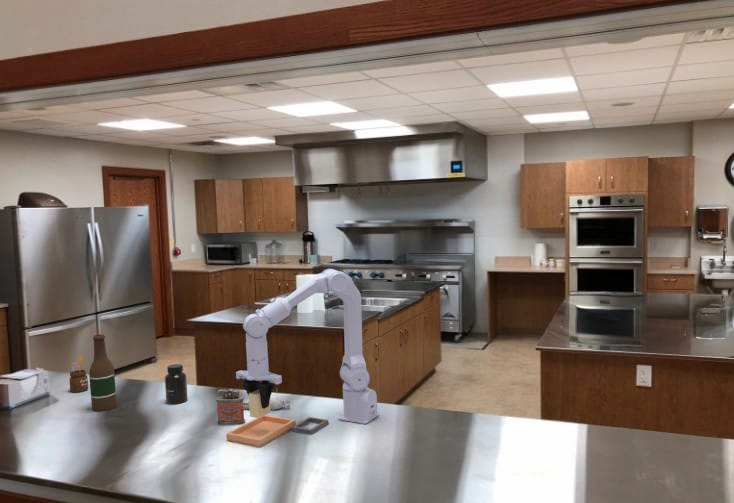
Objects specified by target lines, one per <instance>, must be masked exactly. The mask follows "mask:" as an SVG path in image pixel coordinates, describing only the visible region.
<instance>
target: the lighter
mask: <svg viewBox="0 0 734 503" xmlns="http://www.w3.org/2000/svg"><path fill="white" fill-rule="evenodd" d="M217 393H218V394H217V395H218V397H216V399H215V402H216V406H217V407H216V408H217V425H220V426H235V425H236V426H238V425H240V426H241V425H244V424H246V418H245V412H244V410H245V409H243V403H244V396H239V394H240V391H239V389H235V390H234V389H233V388H229V389H228V390H227V389H219V390H217Z"/></svg>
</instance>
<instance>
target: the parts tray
mask: <svg viewBox="0 0 734 503" xmlns="http://www.w3.org/2000/svg"><path fill="white" fill-rule="evenodd" d="M296 424H297V423H296V420H295V419H291V418H285V417H280V416H279V417H278V416H275V415H274V416H273V415H268V414H266V415H264V416H262V417H260V418H254V419H252V420H249V421H248V422H245V423H244V424H241V425H240V426H239V427H236V428H235V429H233V430H230V431H229V432H226V434H225V436H226V442H231V443H236V444H240V445H245V446H251V447H255V448H262V447H264V446H266V445H268V444H270V443H271V442H273V441H274V440H276V439H278V438H279V437H281V436H283V435H284V434H286V433H289V432H290V431H292V427H293V426H294V425H296Z"/></svg>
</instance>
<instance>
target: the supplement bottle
mask: <svg viewBox="0 0 734 503" xmlns="http://www.w3.org/2000/svg"><path fill="white" fill-rule="evenodd" d="M183 366H184V365H183V364H181V363H174V364H169V365H168V366H167V370H166V371H167V374H165V376H164V387H165V401H166V402H165V403H167V404H168V405H178V404H179V405H180V404H183V403H186V401H188V384H187V382H188V380H187V374H186V373H185V372H183V371H184V368H183Z"/></svg>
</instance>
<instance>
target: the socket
mask: <svg viewBox="0 0 734 503" xmlns="http://www.w3.org/2000/svg"><path fill="white" fill-rule="evenodd" d="M310 423H313V424H317V425H314V426H313V427H312V428H305V426H306V425H308V424H310ZM328 425H329V419H324V418H320V417H319V418H318V417H313V416H308V417H306V418H305V419H303V420H301V421H299V422H298V423H296V425H294V426H293V427H292V429H291V432H294V433H300V434H304V435H311V436H312V435H313V434H316V433H317V432H318V431H320V430H321V429H323V428H325V427H327V426H328Z"/></svg>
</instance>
